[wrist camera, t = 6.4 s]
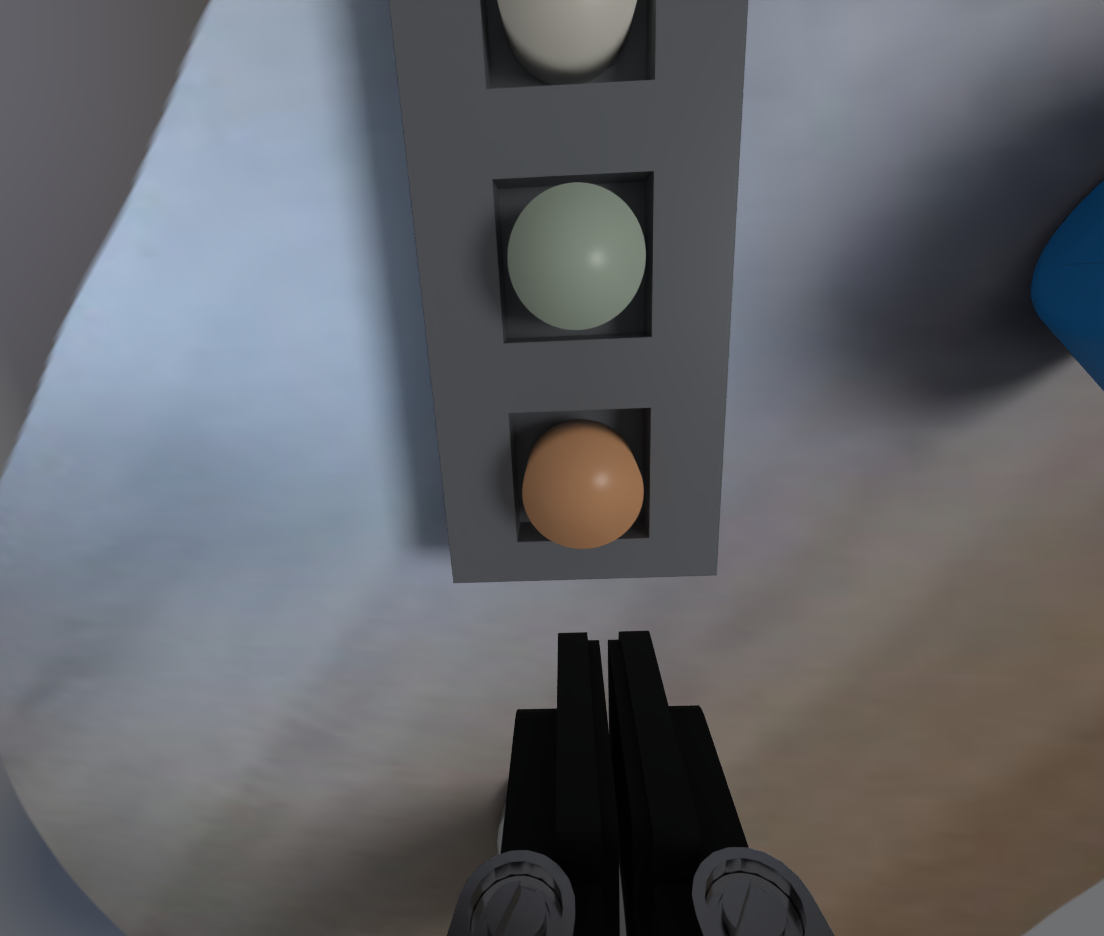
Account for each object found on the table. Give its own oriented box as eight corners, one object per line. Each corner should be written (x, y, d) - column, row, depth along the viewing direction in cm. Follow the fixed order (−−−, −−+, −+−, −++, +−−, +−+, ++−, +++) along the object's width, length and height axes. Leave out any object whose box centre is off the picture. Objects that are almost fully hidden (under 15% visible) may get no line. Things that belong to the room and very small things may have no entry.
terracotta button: (635, 520, 23) (643, 547, 21) (529, 523, 23) (525, 550, 21) (635, 416, 22) (644, 433, 19) (523, 421, 22) (518, 437, 20)
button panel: (696, 538, 27) (716, 575, 23) (466, 546, 27) (453, 583, 24) (725, -139, 19) (760, -230, 15) (400, -118, 19) (366, -202, 16)
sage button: (635, 322, 21) (644, 327, 18) (517, 327, 21) (512, 332, 18) (636, 191, 19) (646, 178, 17) (509, 197, 20) (502, 186, 17)
